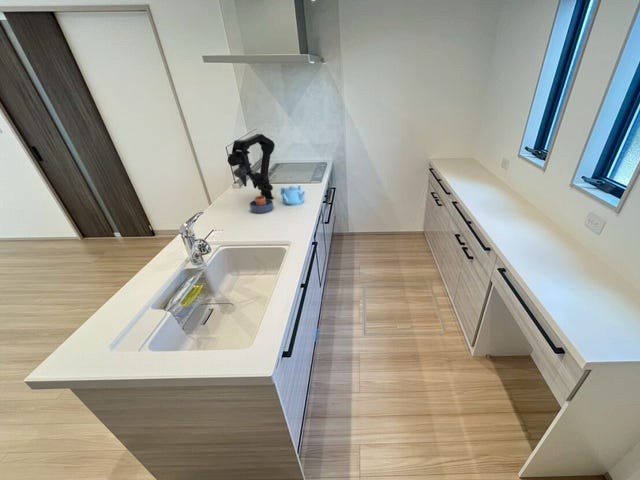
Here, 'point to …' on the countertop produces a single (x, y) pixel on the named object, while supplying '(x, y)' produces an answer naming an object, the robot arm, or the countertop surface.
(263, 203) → the cup
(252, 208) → the bowl
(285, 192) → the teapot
